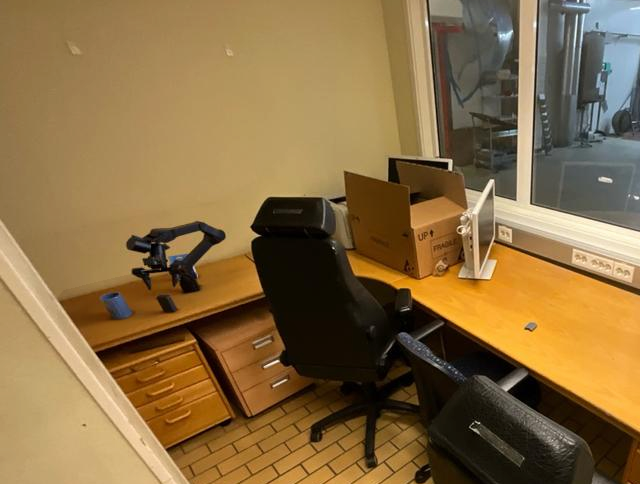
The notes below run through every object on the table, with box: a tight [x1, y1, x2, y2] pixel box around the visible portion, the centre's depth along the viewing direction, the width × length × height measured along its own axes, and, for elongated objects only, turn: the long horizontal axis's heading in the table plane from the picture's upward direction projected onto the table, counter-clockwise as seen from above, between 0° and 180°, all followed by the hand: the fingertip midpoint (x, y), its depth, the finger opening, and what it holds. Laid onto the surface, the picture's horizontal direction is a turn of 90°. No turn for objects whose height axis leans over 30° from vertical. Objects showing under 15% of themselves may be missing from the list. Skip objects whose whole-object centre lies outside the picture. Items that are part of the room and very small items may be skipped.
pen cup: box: [99, 291, 133, 320], centre depth 173 cm, size 7×7×10 cm
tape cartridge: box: [167, 253, 199, 282], centre depth 203 cm, size 9×4×12 cm, turn 119°
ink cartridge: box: [155, 294, 178, 313], centre depth 177 cm, size 5×2×8 cm, turn 89°
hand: (161, 288), depth 176 cm, fingers open, 9 cm apart
